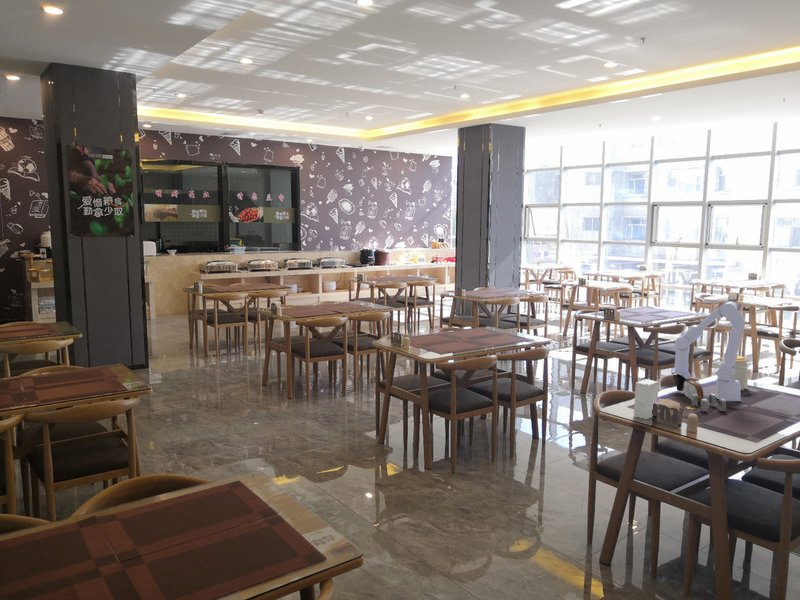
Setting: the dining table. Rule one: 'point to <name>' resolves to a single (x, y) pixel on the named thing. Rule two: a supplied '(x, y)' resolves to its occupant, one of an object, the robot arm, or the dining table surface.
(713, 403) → the collar
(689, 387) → the bread slice
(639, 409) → the skincare box
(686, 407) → the brass mark
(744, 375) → the jar
